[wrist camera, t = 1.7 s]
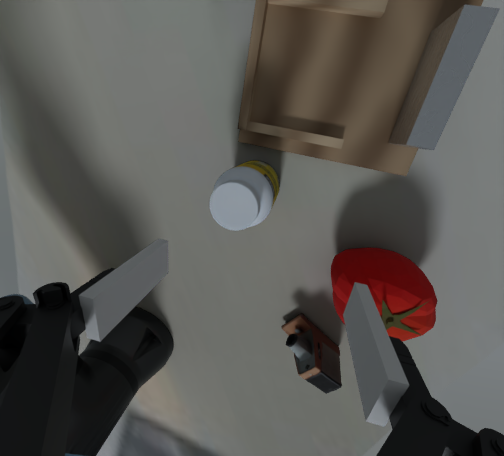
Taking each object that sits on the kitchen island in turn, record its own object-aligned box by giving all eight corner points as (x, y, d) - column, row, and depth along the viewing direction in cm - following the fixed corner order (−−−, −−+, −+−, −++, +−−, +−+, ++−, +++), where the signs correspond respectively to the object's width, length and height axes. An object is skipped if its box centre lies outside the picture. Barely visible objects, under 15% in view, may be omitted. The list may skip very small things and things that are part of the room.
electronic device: (300, 309, 38) (300, 347, 31) (340, 346, 39) (348, 391, 32) (281, 322, 40) (276, 361, 33) (320, 356, 41) (323, 401, 34)
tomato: (354, 218, 31) (376, 254, 22) (435, 267, 31) (491, 323, 22) (306, 277, 36) (307, 327, 26) (377, 319, 36) (403, 384, 27)
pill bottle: (287, 196, 32) (280, 226, 21) (246, 213, 34) (220, 249, 23) (267, 150, 30) (248, 158, 20) (225, 172, 32) (187, 189, 22)
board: (241, 141, 30) (235, 141, 28) (265, -22, 24) (261, -40, 22) (401, 174, 28) (410, 177, 26) (474, 3, 22) (496, -14, 19)
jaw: (387, 143, 26) (406, 144, 21) (431, 31, 22) (464, 4, 17) (410, 147, 26) (433, 149, 21) (458, 35, 22) (499, 8, 17)
